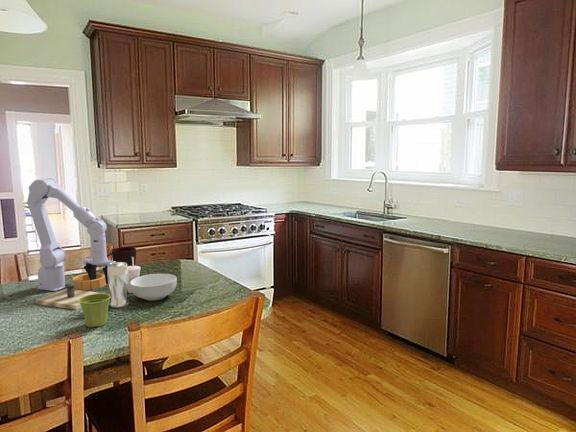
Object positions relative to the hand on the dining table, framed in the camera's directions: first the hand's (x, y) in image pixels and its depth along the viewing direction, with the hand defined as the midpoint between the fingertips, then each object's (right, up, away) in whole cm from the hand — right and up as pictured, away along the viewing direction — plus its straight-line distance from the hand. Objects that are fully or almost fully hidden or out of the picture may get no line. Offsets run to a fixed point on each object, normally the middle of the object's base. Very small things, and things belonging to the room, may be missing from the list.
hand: (100, 282), depth 175 cm
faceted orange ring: (-5, -2, +2) cm, 6 cm away
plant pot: (+15, -8, -38) cm, 42 cm away
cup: (+2, 0, +15) cm, 15 cm away
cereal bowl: (+26, -4, -12) cm, 29 cm away
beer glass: (+16, -5, -20) cm, 26 cm away
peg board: (-4, -4, -16) cm, 17 cm away
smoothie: (+15, -3, -6) cm, 17 cm away
